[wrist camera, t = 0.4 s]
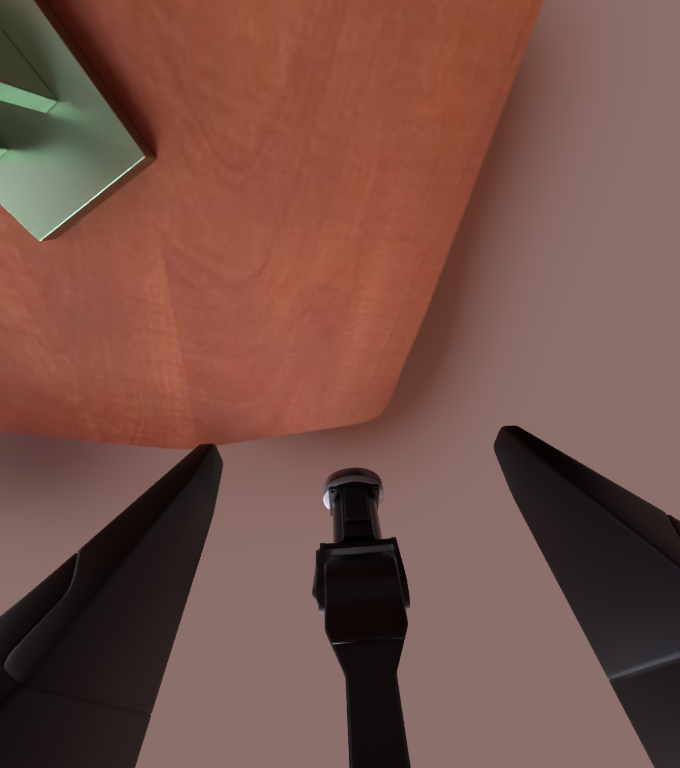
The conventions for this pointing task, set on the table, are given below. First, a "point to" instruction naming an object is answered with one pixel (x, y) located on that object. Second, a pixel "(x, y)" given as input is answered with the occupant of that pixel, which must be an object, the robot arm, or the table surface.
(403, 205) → the table surface
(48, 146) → the bracket
